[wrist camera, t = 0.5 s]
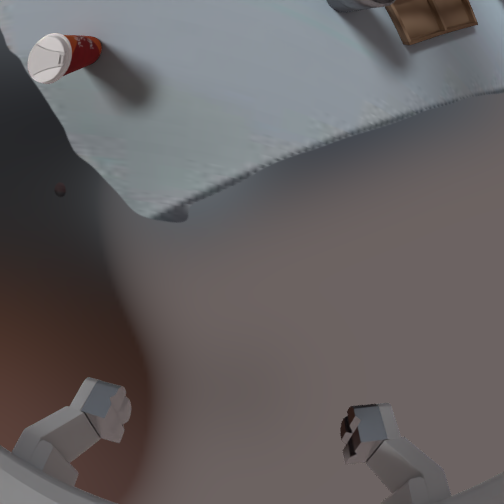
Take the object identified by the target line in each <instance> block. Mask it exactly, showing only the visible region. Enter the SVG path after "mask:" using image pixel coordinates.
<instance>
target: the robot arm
mask: <svg viewBox="0 0 504 504" xmlns="http://www.w3.org/2000/svg"><path fill="white" fill-rule="evenodd" d="M125 394H126V390H125V388H124V387H123V386H119V385H114V384H111V383H107V382H103V381H100V380H97V379H93V378H89V377H88V378H87V379H86V380H84V382H83V384H82V386H81V388H80V389H79V391H78V392H77V394H76V396H75V398H74V400H73V401H72V403H71V405H70V407H68V406H66V407H64V408H62V409H60V410H58V411H57V412H55V413H53V414H51V415H49V416H48V417H46V418H44V419H42V420H40V421H38V422H37V423H35V424H33V425H31V426H29V427H27V428H25V429H24V431H23V433H22V434H21V437H20V438H19V440H18V442H17V443H16V445H15V447H14V449H13V451H12V453H11V452H10V451H8V450H6V449H5V448H4V447H2V446H1V445H0V504H117V503H114V502H111V501H108V500H106V499H103V498H100V497H98V496H95V495H92V494H90V493H87V492H85V491H83V490H80V489H78V488H76V487H74V484H75V482H76V479H77V476H78V472H77V470H76V469H75V468H74V467H73V466H72V465H70V462H71V461H73V460H74V459H75V458H77V457H78V456H79V455H81V454H82V453H83V452H84V451H86V450H87V449H88V448H90V447H91V446H92V445H93V444H94V443H96V442H97V441H98V440H100V438H103V439H106V440H110V441H113V442H117V443H120V441H121V438H122V435H123V433H124V427H123V424H124V423H126V422H128V420H129V417H130V414H131V403H130V400H129V399H128V398H126V396H125ZM347 414H348V416H346V417H345V418H343V421H342V423H341V428H340V432H341V433H340V435H341V440H342V442H344V443H345V444H346V446H345V447H344V449H343V455H344V461H345V464H355V463H365V462H366V464H367V465H368V466H369V468H370V469H371V470H372V471H373V472H374V473H375V475H376V476H377V477H378V478H379V479H380V480H381V481H382V483H383V484H385V486H386V487H387V488H388V489H389V490H390V492H391V493H392V494H391V495H390V496H389V497H387V498H386V499H385V500H383V501H382V502H381V504H504V472H502V473H500V474H498V475H496V476H494V477H492V478H490V479H488V480H486V481H484V482H482V483H480V484H478V485H476V486H474V487H472V488H470V489H467V490H465V491H463V492H460V493H458V494H456V495H453V496H451V493H450V489H449V486H448V482H447V479H446V476H445V473H444V469H443V468H442V467H440V466H439V465H438V464H437V463H435V462H434V461H433V460H432V459H431V458H429V457H428V456H427V455H426V454H424V453H423V452H422V451H421V450H420V449H418V448H417V447H416V446H415V445H414V444H413V443H411V442H410V441H409V440H408V439H407V438H405V437H401V435H400V432H399V429H398V426H397V422H396V419H395V416H394V413H393V410H392V407H391V405H390V404H389V403H382V404H368V405H358V406H351V407H349V409H348V411H347Z"/></svg>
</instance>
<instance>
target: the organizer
mask: <svg viewBox="0 0 504 504" xmlns="http://www.w3.org/2000/svg"><path fill="white" fill-rule="evenodd" d="M385 8H386V10H387V12H388V14H389V15H390V17H391V19H392V21H393V23H394V25H395V27H396V29H397V31H398V33H399V36H400V38H401V40H402V42H403V44H405V45H412V44H415V43H418V42H421V41H424V40H427V39H430V38H433V37H436V36H439V35H442V34H445V33H449V32H452V31H456V30H459V29H463V28H467V27H470V26H474V25H478V23H477V20H476V18H475V15H474V12H473V10H472V8H471V5H470V3H469V0H395V2H394V3H393V4H391V5H389V6H385Z"/></svg>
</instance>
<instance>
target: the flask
mask: <svg viewBox="0 0 504 504" xmlns="http://www.w3.org/2000/svg"><path fill="white" fill-rule="evenodd" d="M327 2H328V4H329V5H330V6H331V7H332V8H333V9H334V10H336V11H339V12H352V11H357V10H363V9H369V8H376V7H384V6H389V5H391V4H393V3H394V2H395V0H327Z"/></svg>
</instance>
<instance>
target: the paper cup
mask: <svg viewBox="0 0 504 504" xmlns="http://www.w3.org/2000/svg"><path fill="white" fill-rule="evenodd" d="M101 49H102V47H101V43H100V41H99V40H98V39H97V38H95V37H91V36H76V35H62V34H59V33H52V34H49V35H46V36H45V37H43V38H42V39H41V40H39V41H38V42H37V44H35V46H34V47H33V49H32V50H31V52H30V54H29V58H28V70H29V73H30V75H31V77H32V78H33V79H34V80H36V81H38V82H40V83H44V84H50V83H53V82H55V81H57V80H59V79H60V78H61V77H62V76H64V75H67V74H69V73H71V72H74V71H76V70H78V69H81V68H83V67H86V66H88V65H90V64H92V63H94V62H95V61H96V60H97V59H98V58H99V56H100V54H101Z"/></svg>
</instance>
